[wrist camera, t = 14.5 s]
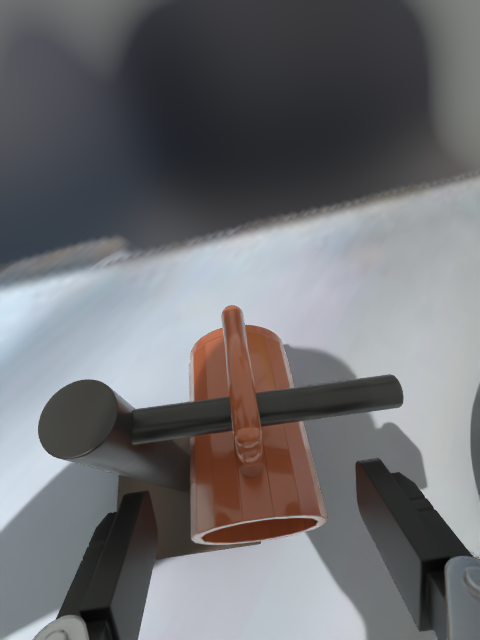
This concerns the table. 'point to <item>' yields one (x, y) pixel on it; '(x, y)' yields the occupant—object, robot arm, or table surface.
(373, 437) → the table surface
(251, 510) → the mug
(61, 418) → the hook stand
